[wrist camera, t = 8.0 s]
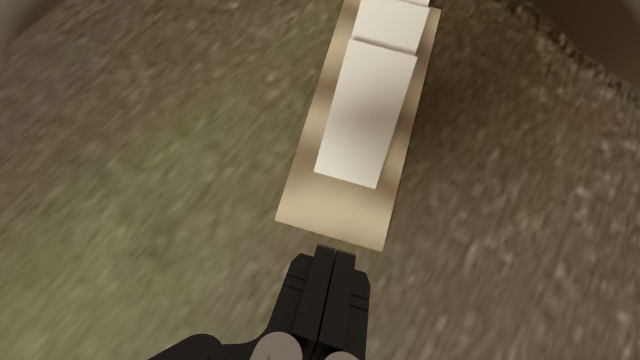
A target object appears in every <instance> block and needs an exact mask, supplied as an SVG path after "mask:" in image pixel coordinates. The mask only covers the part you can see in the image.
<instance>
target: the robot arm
mask: <svg viewBox="0 0 640 360" xmlns="http://www.w3.org/2000/svg"><path fill="white" fill-rule="evenodd" d="M335 251H336V249H335V248H332V247H328V246H325V245H322V244H317V248H316V251H315V254H314V257H312V256H309V255H305V254H302V253H300V254H299V255H298V256H297V257H296V258H295V259H294V260H293V261H292V262H291V264H290V266H289V269H288V272H287V275H286V277H285V280H284V283H283V286H282V288H281V291H280V294H279V296H278V299H277V302H276V305H275V307H274V310H273V313H272V315H271V318H270V321H269V324H268V326H267V328H266V329H265V331H264V332H263V333H262V334H261V335H260V336H259V337H258V338H256V339H255V340H253V341H250V342H247V343H243V344H224V345H222V344H221V343H220V341H219V340H218V339H217V338H215V337H214V336H211V335H209V334H196V335H192V336H190V337H188V338H186V339H184V340H182V341H180V342H179V343H177V344H175V345H173V346H171V347H170V348H168V349H166V350H164V351H162V352H161V353H159V354H157V355H155V356H153V357H152V358H150V359H148V360H365V351H366V338H367V324H368V311H369V298H370V283H369V281H368V278H367V275H366V273H365V272H361V271H358V270H355V269H354V267H355V260H356V255H355V254H352V253H348V252H345V251H342V250H338V249H337V251H336V253H335Z"/></svg>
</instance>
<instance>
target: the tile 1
mask: <svg viewBox="0 0 640 360" xmlns="http://www.w3.org/2000/svg"><path fill="white" fill-rule="evenodd" d="M416 60H417V57H416V56H412V55H408V54H405V53H401V52H397V51H393V50H389V49H386V48H382V47H378V46H374V45H370V44H367V43H363V42H359V41H355V40H352V39H349V41H348V45H347V49H346V53H345V56H344V60H343V64H342V68H341V71H340V75H339V79H338V82H337V86H336V90H335V94H334V97H333V101H332V105H331V108H330V112H329V116H328V120H327V123H326V127H325V131H324V135H323V138H322V142H321V146H320V149H319V153H318V157H317V161H316V164H315V168H314V172H317V173H320V174H324V175H327V176H331V177H334V178H338V179H341V180H345V181H348V182H352V183H355V184H359V185H362V186H366V187H369V188H373V189H375V188H376V185H377V182H378V179H379V176H380V172H381V169H382V166H383V163H384V160H385V157H386V154H387V151H388V148H389V144H390V141H391V138H392V135H393V132H394V129H395V126H396V123H397V120H398V116H399V113H400V110H401V107H402V104H403V101H404V98H405V95H406V92H407V88H408V85H409V82H410V79H411V76H412V73H413V70H414V67H415V64H416Z"/></svg>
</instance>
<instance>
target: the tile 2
mask: <svg viewBox="0 0 640 360" xmlns="http://www.w3.org/2000/svg"><path fill="white" fill-rule="evenodd" d="M429 10H430V8H427V7H423V6H419V5H415V4H411V3H407V2H403V1H399V0H361V2H360V6H359V10H358V13H357V17H356V21H355V25H354V28H353V32H352V36H351V39H352V40H355V41H359V42H363V43H367V44H370V45H374V46H378V47H382V48H386V49H389V50H393V51H397V52H401V53H405V54H408V55H412V56H415V53H416V50H417V47H418V44H419V41H420V38H421V35H422V31H423V28H424V25H425V22H426V19H427V16H428V13H429Z"/></svg>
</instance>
